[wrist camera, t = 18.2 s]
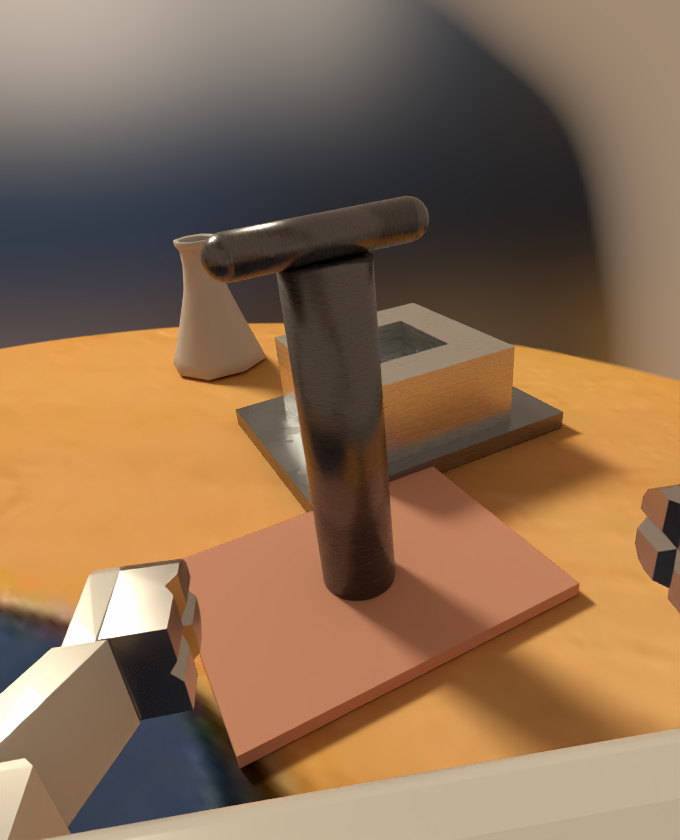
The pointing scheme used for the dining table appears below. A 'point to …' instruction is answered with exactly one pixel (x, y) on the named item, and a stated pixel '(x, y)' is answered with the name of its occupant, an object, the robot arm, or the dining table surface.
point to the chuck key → (334, 369)
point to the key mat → (358, 611)
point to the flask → (210, 322)
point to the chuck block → (417, 400)
